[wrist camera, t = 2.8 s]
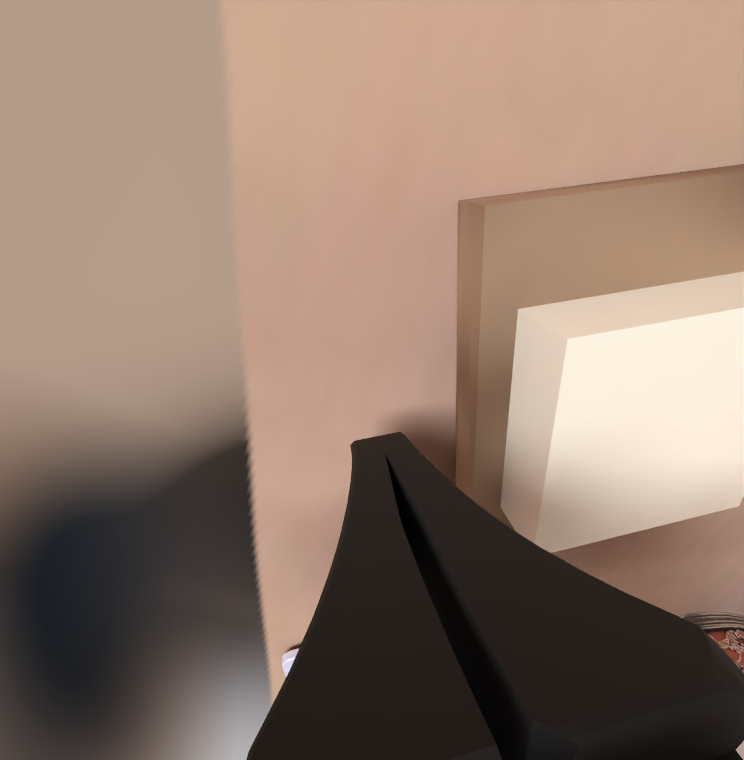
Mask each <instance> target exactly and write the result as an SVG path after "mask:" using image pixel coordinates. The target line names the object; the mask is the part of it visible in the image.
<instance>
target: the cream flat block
mask: <svg viewBox="0 0 744 760" xmlns="http://www.w3.org/2000/svg"><path fill="white" fill-rule="evenodd" d="M743 496H744V272H738V273H732V274H726V275H720V276H714V277H708V278H702V279H696V280H690V281H684V282H678V283H672V284H666V285H660V286H654V287H648V288H642V289H636V290H630V291H624V292H618V293H612V294H606V295H600V296H594V297H588V298H582V299H576V300H570V301H564V302H557V303H551V304H545V305H539V306H533V307H527V308H521V309H518V316H517V327H516V338H515V350H514V361H513V372H512V383H511V394H510V405H509V416H508V427H507V438H506V450H505V461H504V472H503V483H502V494H501V505H500V507H501V509H502V510H503V512H504V514H505V515H506V517H507V518H508V520H509V521H510V523H511V525H512V526H513V528H514V529H515V531H516V532H517V533H519V534H520V535H522V536H524V537H525V538H527V539H528V540H530V541H531V542H533V543H534V544H536V545H538V546H539V547H541V548H543V549H544V550H546V551H548V552H550V553H553V552H557V551H561V550H566V549H570V548H574V547H578V546H582V545H586V544H590V543H594V542H598V541H602V540H606V539H610V538H614V537H618V536H622V535H626V534H630V533H634V532H638V531H642V530H646V529H650V528H654V527H658V526H662V525H666V524H670V523H674V522H678V521H682V520H686V519H690V518H694V517H698V516H702V515H706V514H710V513H714V512H718V511H722V510H726V509H730V508H734V507H738V506H739V504H740V502H741V500H742V498H743Z"/></svg>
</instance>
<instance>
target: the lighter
mask: <svg viewBox="0 0 744 760" xmlns="http://www.w3.org/2000/svg"><path fill="white" fill-rule="evenodd" d="M680 618H683V619H685V620H687V621H690V622H692V623H694V624H696V625H699V626H700V627H701V628H702V629H703V630H704V631H705V632H706V633H707V634H708V635H709V636H710V637H711V638H712V639H713V640H714V641H715V642H716V643H717V644H718V645H719V646H720V647H721V648H722V649H723V650H724V651H725V652H726V653H727V654H728V656H729V657H730V658H731V659H732V660H733V661H734V662H735V663H736V664H737V666H738V667H739V668H740V669H741V670H742V671H743V673H744V617H743V616H740V615H736V614H731V613H719V612H707V613H696V614H687V615H683V616H681V617H680Z"/></svg>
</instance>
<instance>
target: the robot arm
mask: <svg viewBox="0 0 744 760" xmlns="http://www.w3.org/2000/svg"><path fill="white" fill-rule="evenodd" d="M350 446H351V452H352V473H351V483H350V490H349V496H348V503H347V508H346V512H345V517H344V521H343V526H342V530H341V534H340V538H339V542H338V546H337V549H336V553H335V556H334V559H333V562H332V566H331V569H330V572H329V575H328V578H327V581H326V583H325V586H324V589H323V592H322V594H321V597H320V600H319V603H318V605H317V608H316V610H315V613H314V616H313V618H312V621H311V623H310V625H309V628H308V630H307V632H306V634H305V637H304V639H303V641H302V643H301V646H300V648H298V649H294V650H290V651H288V652H286V653H285V654H284V655H283V657H282V668H283V671H284V673H285V675H286V679H285V681H284V683H283V685H282V687H281V689H280V691H279V693H278V695H277V697H276V699H275V701H274V703H273V705H272V707H271V709H270V711H269V713H268V715H267V717H266V719H265V721H264V723H263V725H262V727H261V729H260V731H259V732H258V735H257V736H256V738H255V741H254V742H253V744H252V746H251V748H250V751H249V753H248V757H247V760H743V759H742V758H741V757H740V755H739V754H738V753H737V751H736V749H737V747H738V746H739V745H740V744H741V743H742V742H743V741H744V673H743V671H742V670H741V669H740V668H739V667H738V666H737V664H736V663H735V662H734V661H733V660H732V659H731V658H730V657H729V656H728V654H727V653H726V652H725V651H724V650H723V649H722V648H721V647H720V646H719V645H718V644H717V643H716V642H715V641H714V640H713V639H712V638H711V637H710V636H709V635H708V634H707V633H706V632H705V631H704V630H703V629H702V628H701V627H700V626H699V625H696V624H694V623H692V622H690V621H687V620H685V619H683V618H680V617H678V616H676V615H674V614H671V613H669V612H667V611H665V610H662V609H660V608H658V607H656V606H653V605H651V604H649V603H647V602H644V601H642V600H640V599H638V598H635V597H633V596H631V595H629V594H627V593H625V592H622V591H620V590H618V589H616V588H614V587H612V586H610V585H609V584H607V583H605V582H603V581H601V580H599V579H597V578H595V577H593V576H591V575H589V574H587V573H585V572H583V571H581V570H579V569H578V568H576V567H574V566H572V565H571V564H569V563H567V562H565V561H564V560H562V559H560V558H558V557H557V556H555V555H553V554H551V553H550V552H548V551H546V550H544V549H543V548H541V547H539V546H538V545H536V544H534V543H533V542H531V541H530V540H528V539H527V538H525V537H524V536H522V535H520V534H519V533H517V532H516V531H514V530H513V529H511V528H510V527H509V526H507V525H506V524H504V523H503V522H501V521H500V520H498V519H497V518H496V517H494V516H493V515H492V514H490V513H489V512H488V511H486V510H485V509H484V508H482V507H481V506H480V505H478V504H477V503H476V502H475V501H473V500H472V499H471V498H470V497H468V496H467V495H466V494H465V493H464V492H462V491H461V490H460V489H459V488H458V487H456V486H455V485H454V484H453V483H452V482H451V481H450V480H449V479H447V478H446V477H445V476H444V475H443V474H442V473H441V472H440V471H439V470H438V469H436V468H435V467H434V466H433V465H432V464H431V463H430V462H429V461H428V460H427V459H426V458H425V457H424V456H423V455H422V454H421V453H420V452H419V451H418V450H417V449H416V448H415V446H414V445H413V444H412V443H411V442H410V441H409V440H408V439H407V438H406V436H405V435H404V434H402V433H401V432H396V433H391V434H386V435H382V436H377V437H372V438H367V439H362V440H357V441H354V442H353V443H352V444H351V445H350Z"/></svg>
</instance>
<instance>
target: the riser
mask: <svg viewBox="0 0 744 760" xmlns="http://www.w3.org/2000/svg"><path fill="white" fill-rule="evenodd" d="M738 272H744V164H742V165H735V166H727V167H719V168H711V169H703V170H696V171H688V172H680V173H672V174H664V175H656V176H649V177H641V178H633V179H625V180H617V181H609V182H602V183H594V184H586V185H578V186H570V187H563V188H555V189H547V190H539V191H531V192H523V193H516V194H508V195H500V196H492V197H484V198H476V199H469V200H461V201H459V206H458V299H457V392H456V485H455V486H456V487H458V488H459V489H460V490H461V491H462V492H464V493H465V494H466V495H467V496H468V497H470V498H471V499H472V500H473V501H475V502H476V503H477V504H478V505H480V506H481V507H482V508H484V509H485V510H486V511H488V512H489V513H490V514H492V515H493V516H494V517H496V518H497V519H498V520H500V521H501V522H503V523H504V524H506V525H507V526H509V527H510V528H511V529H513V530H514V531H515V529H514V528H513V526H512V525H511V523H510V521H509V520H508V518H507V517H506V515H505V514H504V512H503V510H502V509H501V507H500V505H501V494H502V483H503V472H504V461H505V450H506V438H507V427H508V416H509V405H510V394H511V383H512V372H513V361H514V350H515V338H516V327H517V316H518V309H521V308H527V307H533V306H539V305H545V304H551V303H557V302H564V301H570V300H576V299H582V298H588V297H594V296H600V295H606V294H612V293H618V292H624V291H630V290H636V289H642V288H648V287H654V286H660V285H666V284H672V283H678V282H684V281H690V280H696V279H702V278H708V277H714V276H720V275H726V274H732V273H738Z"/></svg>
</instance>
